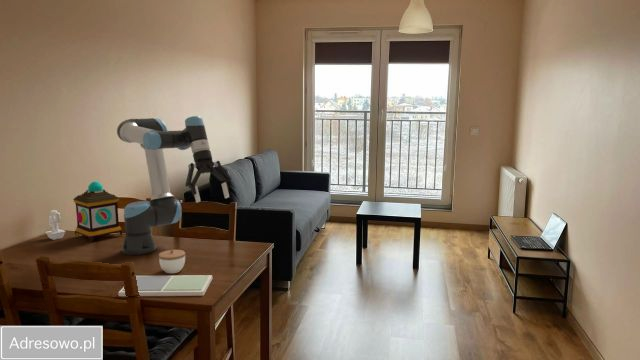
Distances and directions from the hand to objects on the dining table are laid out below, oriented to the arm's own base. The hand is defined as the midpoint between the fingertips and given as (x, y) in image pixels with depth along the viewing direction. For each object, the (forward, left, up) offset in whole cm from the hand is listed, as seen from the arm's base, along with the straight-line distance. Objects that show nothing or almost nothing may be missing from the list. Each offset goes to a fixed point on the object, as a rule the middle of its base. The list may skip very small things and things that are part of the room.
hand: (213, 199), depth 196 cm
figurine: (-93, +49, -31) cm, 109 cm away
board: (-15, -20, -30) cm, 39 cm away
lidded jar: (-18, -2, -31) cm, 35 cm away
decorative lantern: (-72, +52, -31) cm, 94 cm away
